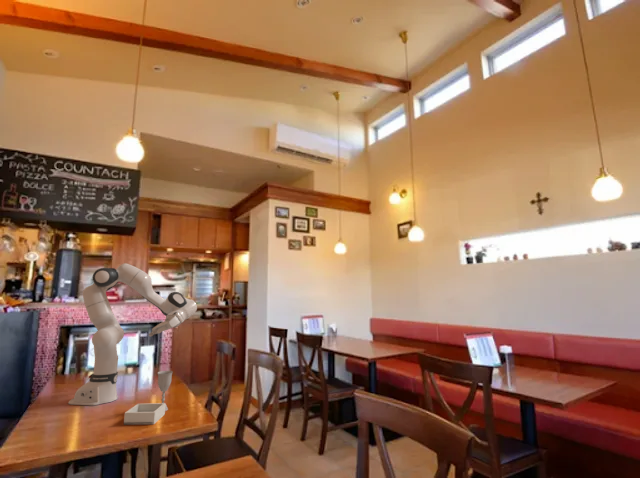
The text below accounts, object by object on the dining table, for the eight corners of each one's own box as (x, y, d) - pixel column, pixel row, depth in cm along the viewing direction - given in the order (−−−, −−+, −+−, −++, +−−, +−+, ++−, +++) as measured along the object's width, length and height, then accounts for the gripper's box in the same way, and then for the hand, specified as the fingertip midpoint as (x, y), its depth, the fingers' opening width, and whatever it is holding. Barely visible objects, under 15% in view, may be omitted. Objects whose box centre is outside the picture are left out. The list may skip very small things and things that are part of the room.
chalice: (154, 413, 168) (157, 374, 171) (154, 408, 174) (157, 371, 177) (170, 410, 172) (173, 372, 174) (169, 406, 178) (172, 370, 180)
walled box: (123, 424, 153) (124, 412, 154) (137, 414, 166) (138, 403, 167) (153, 424, 154) (154, 412, 155) (164, 414, 167) (165, 403, 167)
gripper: (162, 318, 206) (142, 332, 195) (179, 311, 194) (158, 326, 183) (168, 327, 207) (148, 341, 196) (185, 320, 195) (165, 335, 184)
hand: (153, 334), depth 190 cm, fingers open, 8 cm apart
